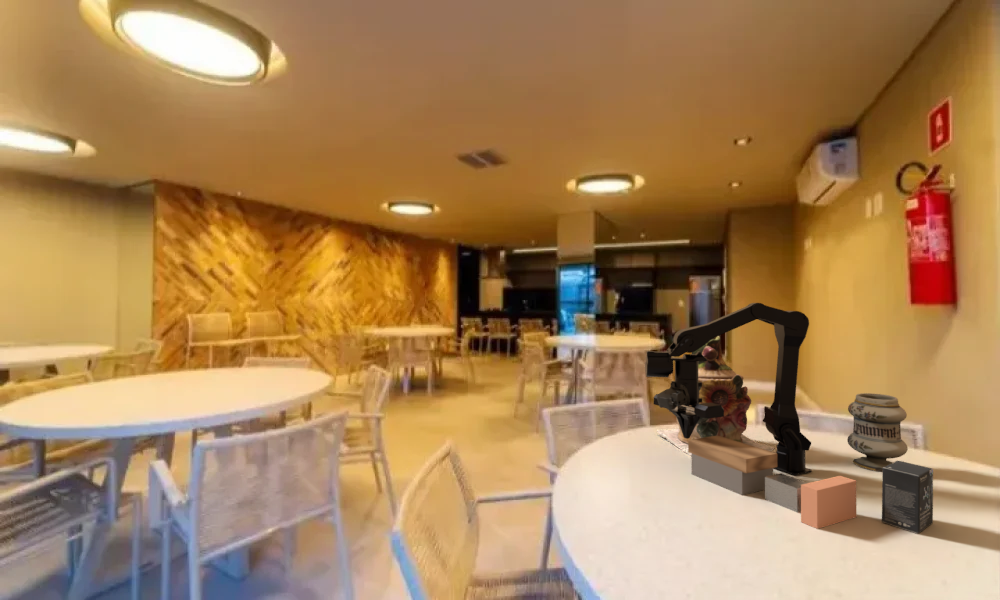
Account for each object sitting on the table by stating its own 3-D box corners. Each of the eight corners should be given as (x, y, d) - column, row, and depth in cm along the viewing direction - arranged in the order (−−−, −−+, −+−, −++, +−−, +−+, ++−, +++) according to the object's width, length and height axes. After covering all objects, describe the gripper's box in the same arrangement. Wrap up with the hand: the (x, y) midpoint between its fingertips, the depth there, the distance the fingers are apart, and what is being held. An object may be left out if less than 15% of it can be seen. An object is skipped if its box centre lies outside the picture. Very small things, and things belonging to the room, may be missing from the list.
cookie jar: (653, 434, 152) (653, 333, 152) (726, 432, 154) (726, 333, 155) (692, 458, 127) (692, 339, 127) (778, 456, 130) (778, 339, 130)
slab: (717, 447, 120) (717, 435, 120) (777, 466, 106) (777, 453, 106) (688, 452, 116) (688, 439, 116) (746, 473, 102) (746, 459, 102)
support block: (781, 496, 102) (781, 473, 102) (813, 508, 96) (813, 484, 96) (765, 499, 100) (765, 476, 100) (797, 513, 94) (797, 488, 94)
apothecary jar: (855, 470, 118) (855, 398, 118) (841, 456, 129) (841, 390, 129) (916, 477, 114) (916, 402, 114) (896, 462, 125) (896, 393, 125)
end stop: (840, 510, 95) (839, 475, 95) (856, 516, 92) (856, 480, 92) (801, 521, 90) (800, 484, 90) (817, 528, 87) (817, 490, 87)
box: (919, 534, 85) (919, 475, 85) (881, 522, 90) (880, 466, 90) (934, 524, 89) (933, 467, 89) (896, 512, 94) (896, 459, 94)
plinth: (721, 468, 119) (721, 448, 119) (773, 487, 107) (773, 465, 107) (691, 474, 115) (691, 453, 115) (742, 495, 102) (742, 471, 103)
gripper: (637, 375, 129) (637, 432, 128) (691, 385, 112) (691, 452, 111) (669, 372, 133) (669, 428, 133) (725, 382, 116) (725, 446, 116)
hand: (686, 438), depth 123 cm, fingers closed
